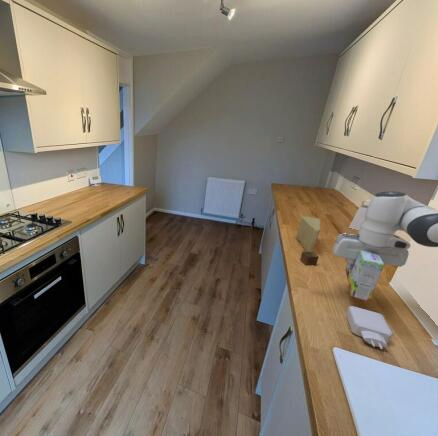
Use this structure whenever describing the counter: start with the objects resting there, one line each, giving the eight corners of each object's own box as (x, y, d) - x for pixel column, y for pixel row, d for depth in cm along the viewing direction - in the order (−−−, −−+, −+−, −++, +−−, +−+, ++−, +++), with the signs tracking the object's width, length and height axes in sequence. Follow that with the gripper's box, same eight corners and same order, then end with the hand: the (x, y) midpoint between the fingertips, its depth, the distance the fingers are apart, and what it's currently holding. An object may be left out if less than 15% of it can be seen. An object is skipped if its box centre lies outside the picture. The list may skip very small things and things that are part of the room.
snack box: (343, 269, 100) (355, 236, 95) (360, 273, 97) (373, 240, 92) (349, 296, 83) (364, 259, 78) (370, 302, 80) (387, 264, 75)
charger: (355, 347, 73) (345, 315, 85) (395, 360, 68) (378, 325, 81) (360, 335, 71) (349, 305, 83) (402, 348, 67) (384, 314, 79)
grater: (354, 225, 167) (364, 198, 160) (373, 230, 159) (384, 201, 152) (348, 228, 162) (358, 200, 155) (367, 233, 154) (378, 204, 147)
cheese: (321, 257, 123) (329, 231, 118) (299, 253, 127) (306, 228, 122) (314, 241, 142) (321, 217, 137) (295, 237, 146) (301, 215, 141)
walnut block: (309, 260, 121) (312, 251, 119) (316, 265, 116) (318, 256, 114) (299, 260, 121) (302, 251, 119) (305, 265, 116) (308, 256, 114)
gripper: (341, 235, 84) (330, 268, 89) (417, 245, 77) (400, 281, 82) (335, 229, 89) (325, 260, 94) (406, 238, 82) (391, 271, 87)
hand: (361, 270), depth 88 cm, fingers closed on snack box, 6 cm apart
